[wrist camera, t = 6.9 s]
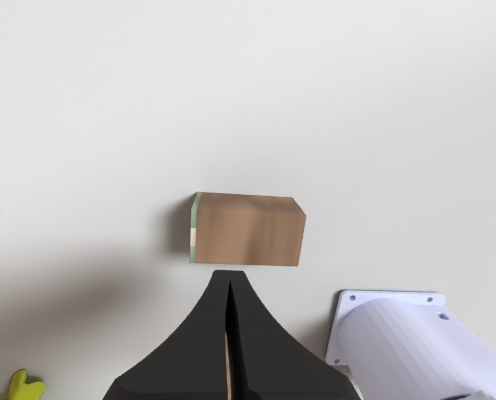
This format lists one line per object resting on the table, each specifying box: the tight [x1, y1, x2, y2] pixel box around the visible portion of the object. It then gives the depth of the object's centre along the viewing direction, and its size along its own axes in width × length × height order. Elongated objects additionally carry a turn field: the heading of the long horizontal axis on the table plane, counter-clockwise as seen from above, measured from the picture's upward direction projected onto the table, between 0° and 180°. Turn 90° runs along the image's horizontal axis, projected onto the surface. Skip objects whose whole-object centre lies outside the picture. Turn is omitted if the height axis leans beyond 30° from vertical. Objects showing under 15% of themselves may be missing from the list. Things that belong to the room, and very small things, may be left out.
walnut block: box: [190, 192, 306, 266], centre depth 19 cm, size 4×4×7 cm
